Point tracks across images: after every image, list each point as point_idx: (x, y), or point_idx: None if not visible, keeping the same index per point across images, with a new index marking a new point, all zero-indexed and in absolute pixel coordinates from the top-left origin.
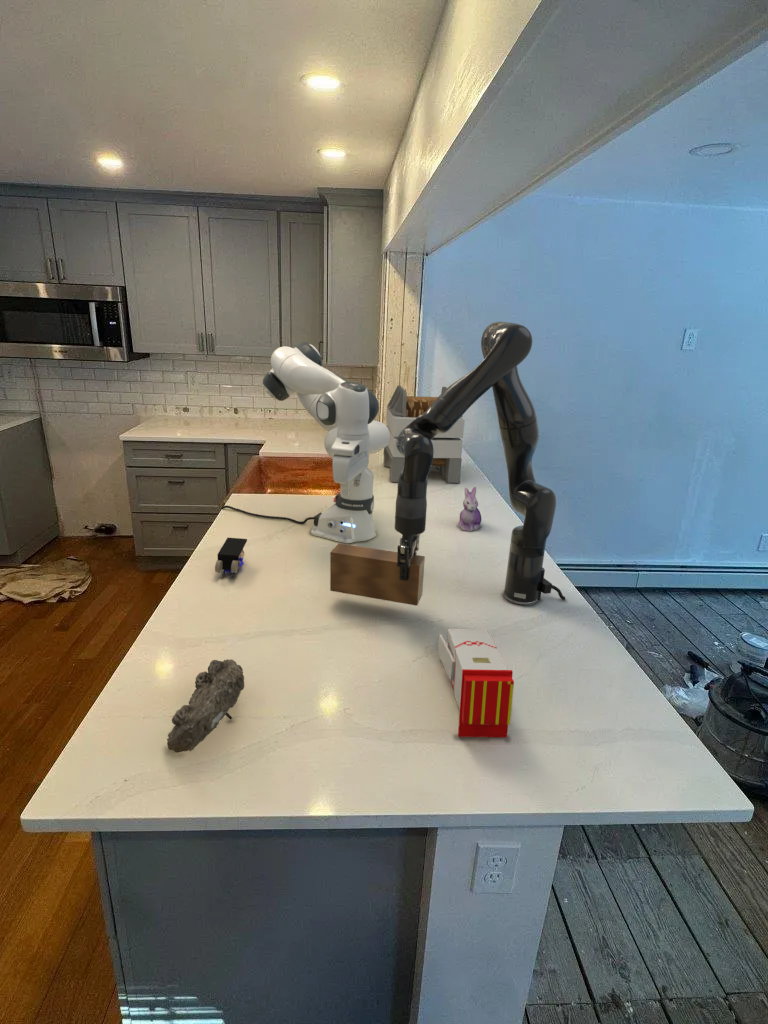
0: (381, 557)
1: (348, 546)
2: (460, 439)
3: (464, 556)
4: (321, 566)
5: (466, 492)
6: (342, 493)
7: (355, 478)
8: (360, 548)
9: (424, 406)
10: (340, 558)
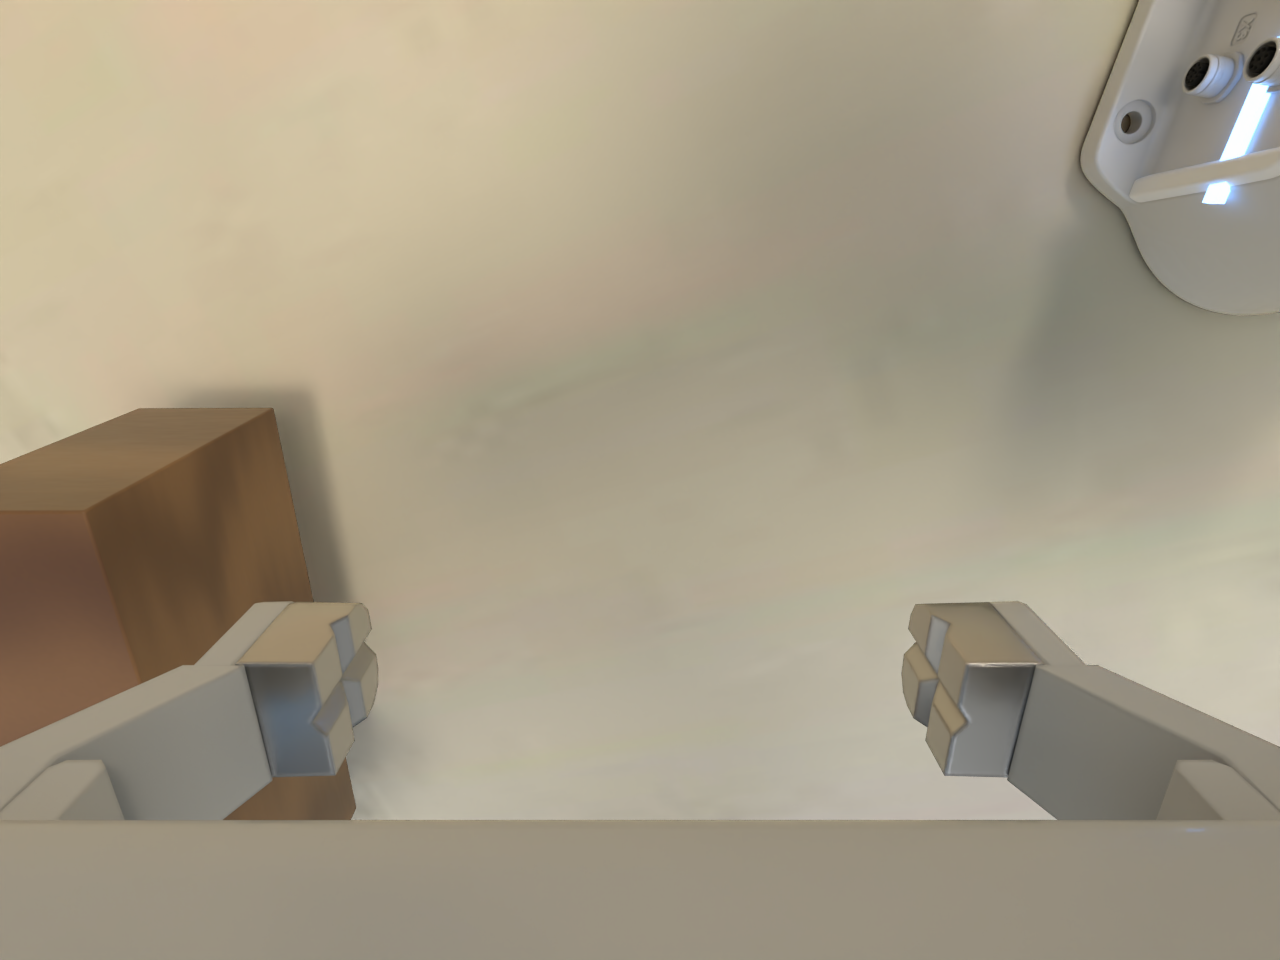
0: None
1: (77, 606)
2: None
3: (1009, 808)
4: (648, 124)
5: None
6: (245, 617)
7: (1062, 701)
8: (105, 694)
9: None
10: None
